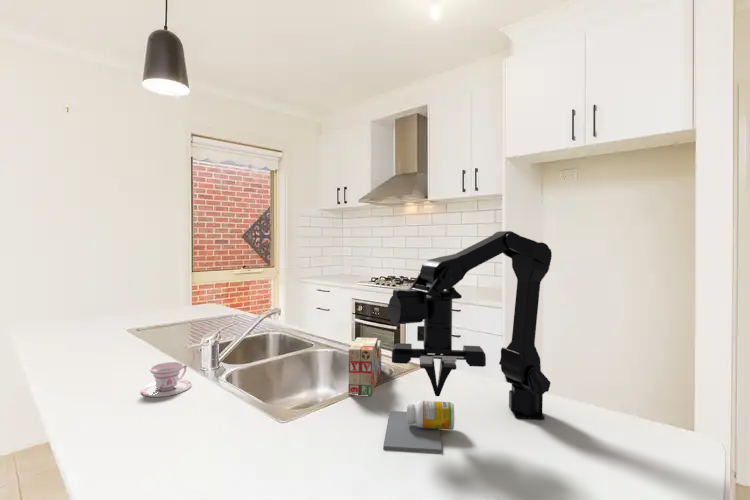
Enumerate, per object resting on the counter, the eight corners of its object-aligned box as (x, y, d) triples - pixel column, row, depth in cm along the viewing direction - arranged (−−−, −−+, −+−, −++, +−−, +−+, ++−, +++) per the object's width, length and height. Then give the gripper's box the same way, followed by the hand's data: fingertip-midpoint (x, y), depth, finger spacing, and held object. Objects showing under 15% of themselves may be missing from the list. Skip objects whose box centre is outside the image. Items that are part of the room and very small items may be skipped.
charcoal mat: (437, 415, 92) (437, 413, 92) (441, 452, 76) (441, 449, 76) (389, 413, 93) (389, 410, 93) (383, 449, 77) (383, 445, 77)
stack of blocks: (361, 369, 125) (361, 329, 125) (381, 370, 124) (381, 330, 124) (348, 395, 104) (348, 348, 104) (372, 397, 103) (372, 349, 103)
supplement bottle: (453, 431, 85) (407, 428, 87) (452, 404, 88) (407, 402, 89) (454, 428, 81) (406, 425, 82) (454, 400, 83) (406, 397, 85)
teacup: (147, 402, 99) (146, 377, 99) (136, 388, 108) (136, 365, 108) (197, 390, 107) (197, 367, 107) (184, 378, 116) (183, 357, 116)
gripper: (478, 314, 90) (477, 383, 91) (395, 312, 92) (394, 380, 93) (486, 325, 79) (485, 403, 80) (391, 322, 81) (391, 399, 82)
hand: (437, 395), depth 84 cm, fingers closed
